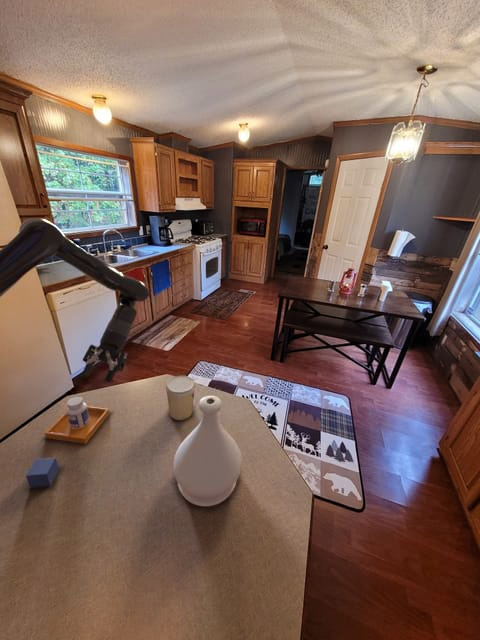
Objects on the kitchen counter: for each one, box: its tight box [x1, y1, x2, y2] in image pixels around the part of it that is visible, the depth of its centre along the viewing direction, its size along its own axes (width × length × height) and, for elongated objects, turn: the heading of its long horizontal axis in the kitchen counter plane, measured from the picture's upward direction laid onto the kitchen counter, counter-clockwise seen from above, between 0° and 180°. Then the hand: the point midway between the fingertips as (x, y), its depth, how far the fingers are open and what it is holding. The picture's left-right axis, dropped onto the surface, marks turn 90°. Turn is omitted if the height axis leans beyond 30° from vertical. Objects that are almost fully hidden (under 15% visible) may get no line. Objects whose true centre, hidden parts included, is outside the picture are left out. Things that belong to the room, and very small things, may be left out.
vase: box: [173, 395, 243, 507], centre depth 62 cm, size 17×17×25 cm
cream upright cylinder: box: [165, 375, 196, 421], centre depth 85 cm, size 9×9×12 cm
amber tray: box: [44, 405, 111, 445], centre depth 79 cm, size 12×12×2 cm
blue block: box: [25, 457, 60, 489], centre depth 63 cm, size 4×4×4 cm
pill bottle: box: [66, 396, 90, 429], centre depth 77 cm, size 5×5×9 cm
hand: (96, 379), depth 82 cm, fingers open, 8 cm apart
